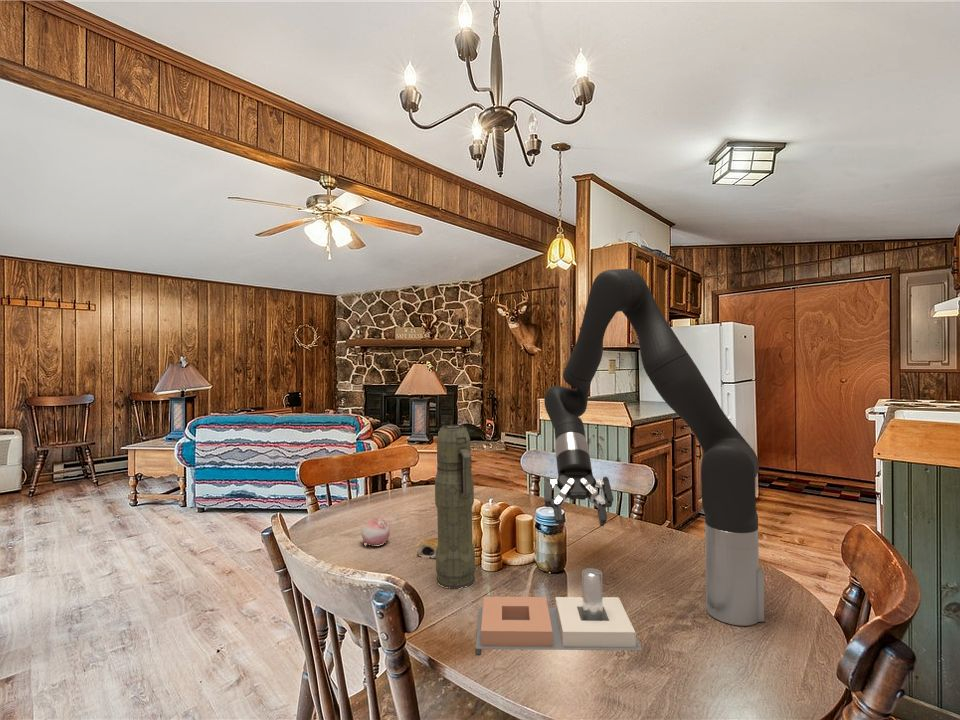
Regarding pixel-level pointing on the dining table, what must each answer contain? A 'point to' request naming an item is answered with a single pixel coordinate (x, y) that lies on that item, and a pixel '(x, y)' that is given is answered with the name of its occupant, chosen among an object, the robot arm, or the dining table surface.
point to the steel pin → (592, 595)
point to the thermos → (454, 508)
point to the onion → (376, 531)
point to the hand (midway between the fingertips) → (581, 524)
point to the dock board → (552, 625)
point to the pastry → (428, 547)
